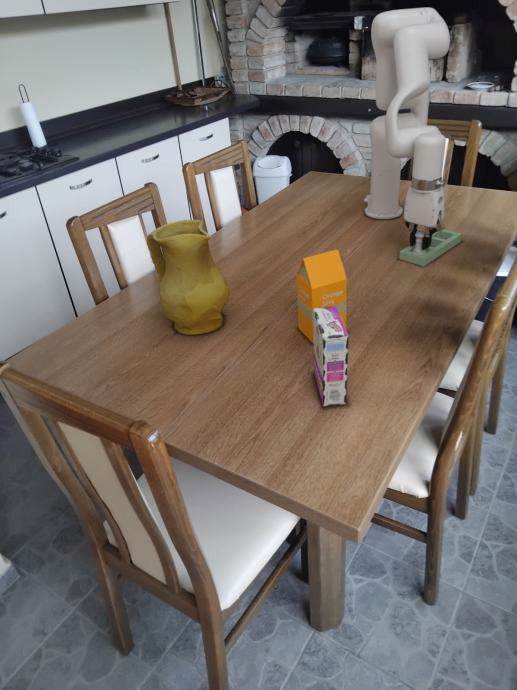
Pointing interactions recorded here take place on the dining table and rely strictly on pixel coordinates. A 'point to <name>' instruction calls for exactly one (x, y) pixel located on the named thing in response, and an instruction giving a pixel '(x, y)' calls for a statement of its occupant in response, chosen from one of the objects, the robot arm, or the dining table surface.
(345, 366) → the candy bar box
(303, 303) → the orange juice
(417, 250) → the rook chess piece
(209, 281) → the pitcher
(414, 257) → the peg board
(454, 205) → the dining table surface
